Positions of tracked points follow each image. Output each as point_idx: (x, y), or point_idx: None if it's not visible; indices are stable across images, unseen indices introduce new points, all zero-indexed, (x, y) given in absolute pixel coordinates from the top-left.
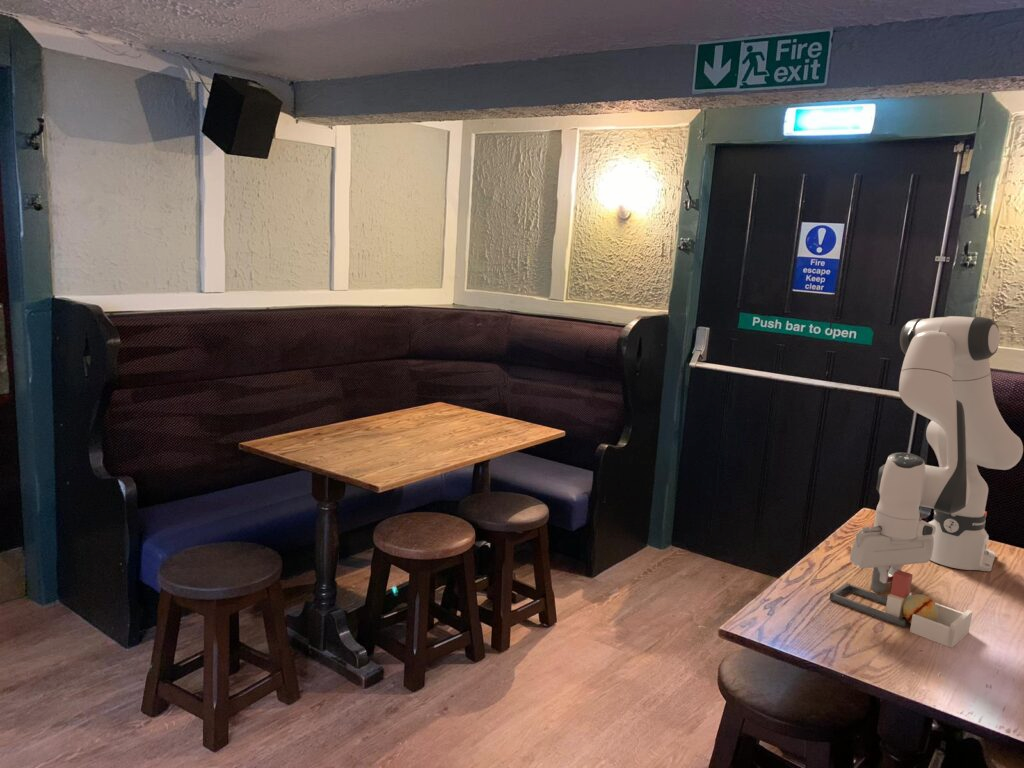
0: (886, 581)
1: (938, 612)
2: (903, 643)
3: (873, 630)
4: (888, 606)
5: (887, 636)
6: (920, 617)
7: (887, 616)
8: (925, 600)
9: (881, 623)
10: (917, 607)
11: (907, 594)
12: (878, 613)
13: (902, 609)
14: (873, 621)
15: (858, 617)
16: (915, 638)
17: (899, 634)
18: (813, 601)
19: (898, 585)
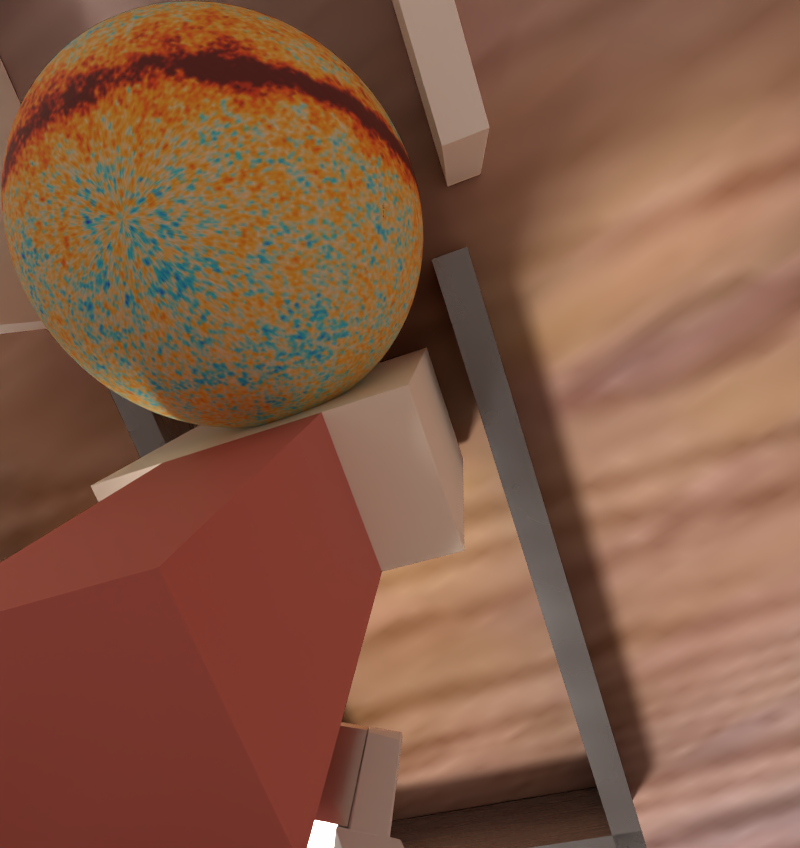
0: (375, 749)
1: (2, 221)
2: (770, 2)
3: (797, 315)
4: (456, 475)
5: (784, 177)
6: (447, 28)
7: (513, 407)
8: (181, 103)
9: (590, 386)
10: (363, 143)
11: (217, 450)
12: (536, 481)
13: None
14: (627, 437)
15: (688, 532)
16: (545, 49)
17: (625, 169)
18: (787, 828)
19: (318, 580)
